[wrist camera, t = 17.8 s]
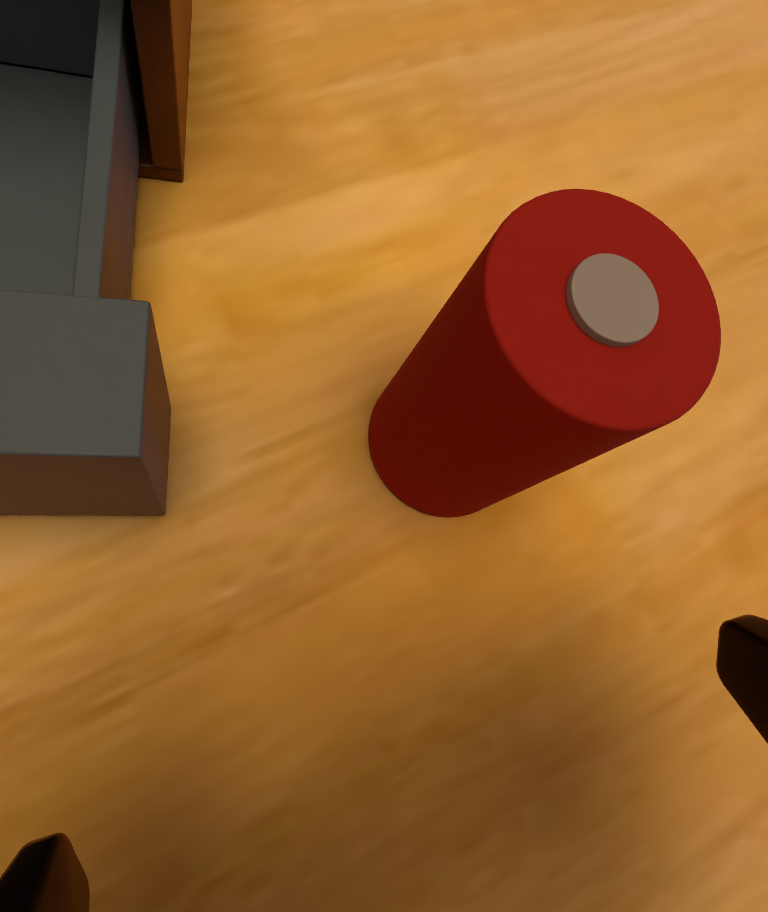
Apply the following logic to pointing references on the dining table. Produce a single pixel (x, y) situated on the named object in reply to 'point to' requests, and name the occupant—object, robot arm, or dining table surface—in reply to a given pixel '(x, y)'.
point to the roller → (547, 355)
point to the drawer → (74, 270)
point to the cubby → (160, 83)
